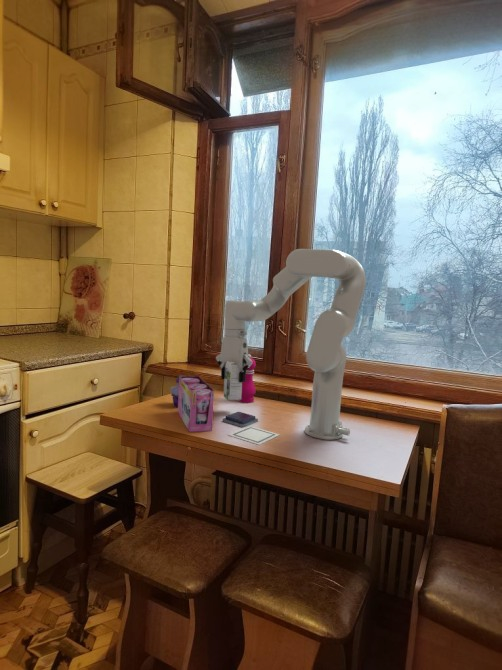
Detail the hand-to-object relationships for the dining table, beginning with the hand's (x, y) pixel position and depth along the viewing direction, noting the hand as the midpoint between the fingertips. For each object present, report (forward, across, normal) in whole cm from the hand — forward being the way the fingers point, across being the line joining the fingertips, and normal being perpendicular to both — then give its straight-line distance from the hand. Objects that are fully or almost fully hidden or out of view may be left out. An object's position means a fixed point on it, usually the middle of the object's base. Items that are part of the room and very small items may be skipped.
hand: (233, 380), depth 153 cm
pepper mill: (+13, +6, -18) cm, 23 cm away
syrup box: (+7, 0, 0) cm, 7 cm away
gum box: (+13, +4, +17) cm, 22 cm away
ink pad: (+13, -8, +6) cm, 16 cm away
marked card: (+13, -20, +14) cm, 28 cm away
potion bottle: (+12, +20, +7) cm, 25 cm away
